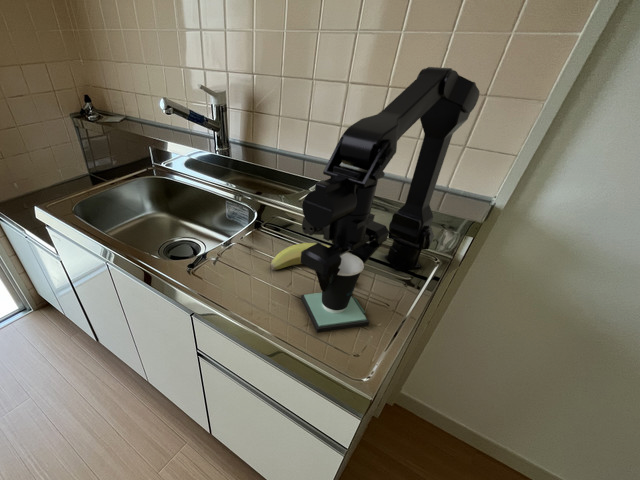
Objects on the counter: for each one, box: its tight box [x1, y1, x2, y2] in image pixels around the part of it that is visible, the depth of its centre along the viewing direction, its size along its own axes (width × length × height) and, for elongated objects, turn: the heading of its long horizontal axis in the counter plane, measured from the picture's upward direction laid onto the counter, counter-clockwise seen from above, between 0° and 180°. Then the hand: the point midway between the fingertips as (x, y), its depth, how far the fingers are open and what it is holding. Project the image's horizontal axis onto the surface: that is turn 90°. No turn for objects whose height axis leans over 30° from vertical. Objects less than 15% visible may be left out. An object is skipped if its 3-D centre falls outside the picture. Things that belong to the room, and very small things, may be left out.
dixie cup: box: [321, 252, 365, 313], centre depth 68 cm, size 8×8×11 cm
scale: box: [300, 291, 370, 334], centre depth 72 cm, size 12×11×2 cm
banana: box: [270, 242, 358, 286], centre depth 83 cm, size 14×6×20 cm
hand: (338, 281), depth 68 cm, fingers open, 9 cm apart
